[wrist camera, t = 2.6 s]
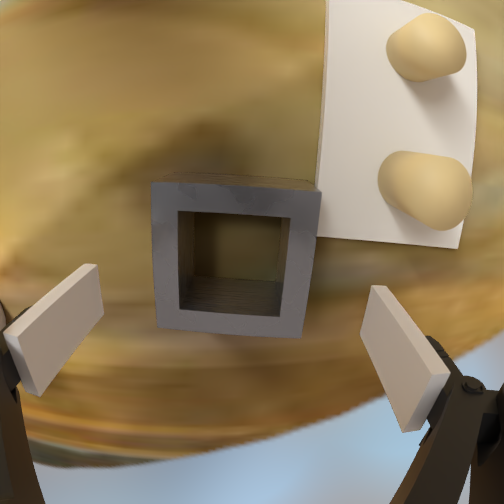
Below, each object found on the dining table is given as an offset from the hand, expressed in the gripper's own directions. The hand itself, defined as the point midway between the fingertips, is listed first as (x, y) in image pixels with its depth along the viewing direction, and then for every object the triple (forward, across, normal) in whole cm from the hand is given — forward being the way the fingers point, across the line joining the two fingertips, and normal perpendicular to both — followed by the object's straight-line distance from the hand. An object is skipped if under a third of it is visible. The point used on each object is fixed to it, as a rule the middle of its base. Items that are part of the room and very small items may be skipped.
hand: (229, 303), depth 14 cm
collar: (+9, 0, 0) cm, 9 cm away
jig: (+8, +11, +10) cm, 17 cm away
